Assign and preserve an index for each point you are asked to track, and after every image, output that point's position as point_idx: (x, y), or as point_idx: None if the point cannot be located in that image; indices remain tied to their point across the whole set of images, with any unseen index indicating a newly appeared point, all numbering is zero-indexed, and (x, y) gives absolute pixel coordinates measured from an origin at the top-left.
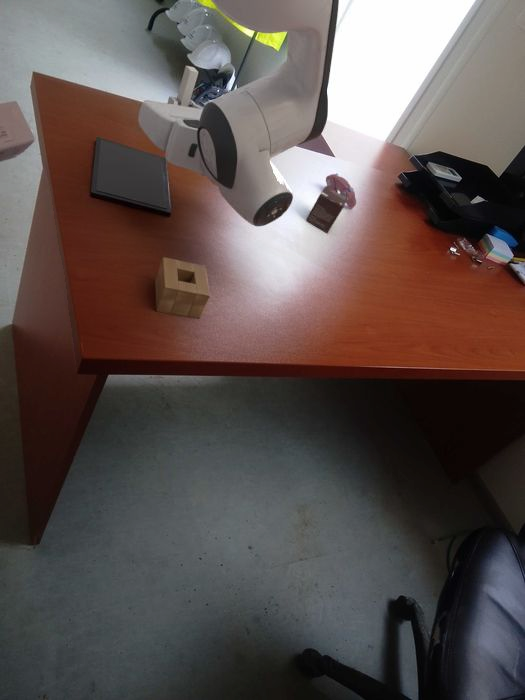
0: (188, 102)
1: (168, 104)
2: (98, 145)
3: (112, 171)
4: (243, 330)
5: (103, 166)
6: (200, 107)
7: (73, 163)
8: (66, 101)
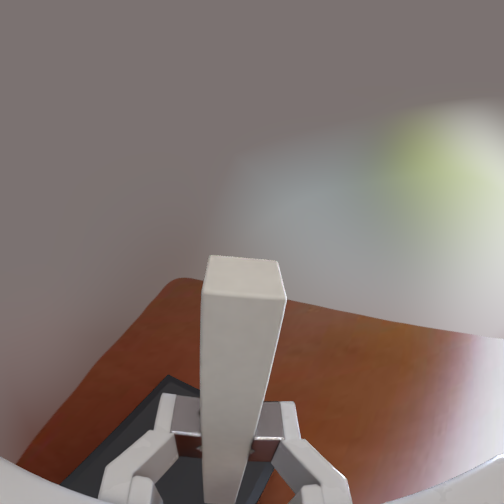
0: (247, 435)
1: (6, 482)
2: (153, 395)
3: None
4: None
5: (117, 450)
6: (314, 461)
7: (83, 425)
8: (184, 304)
